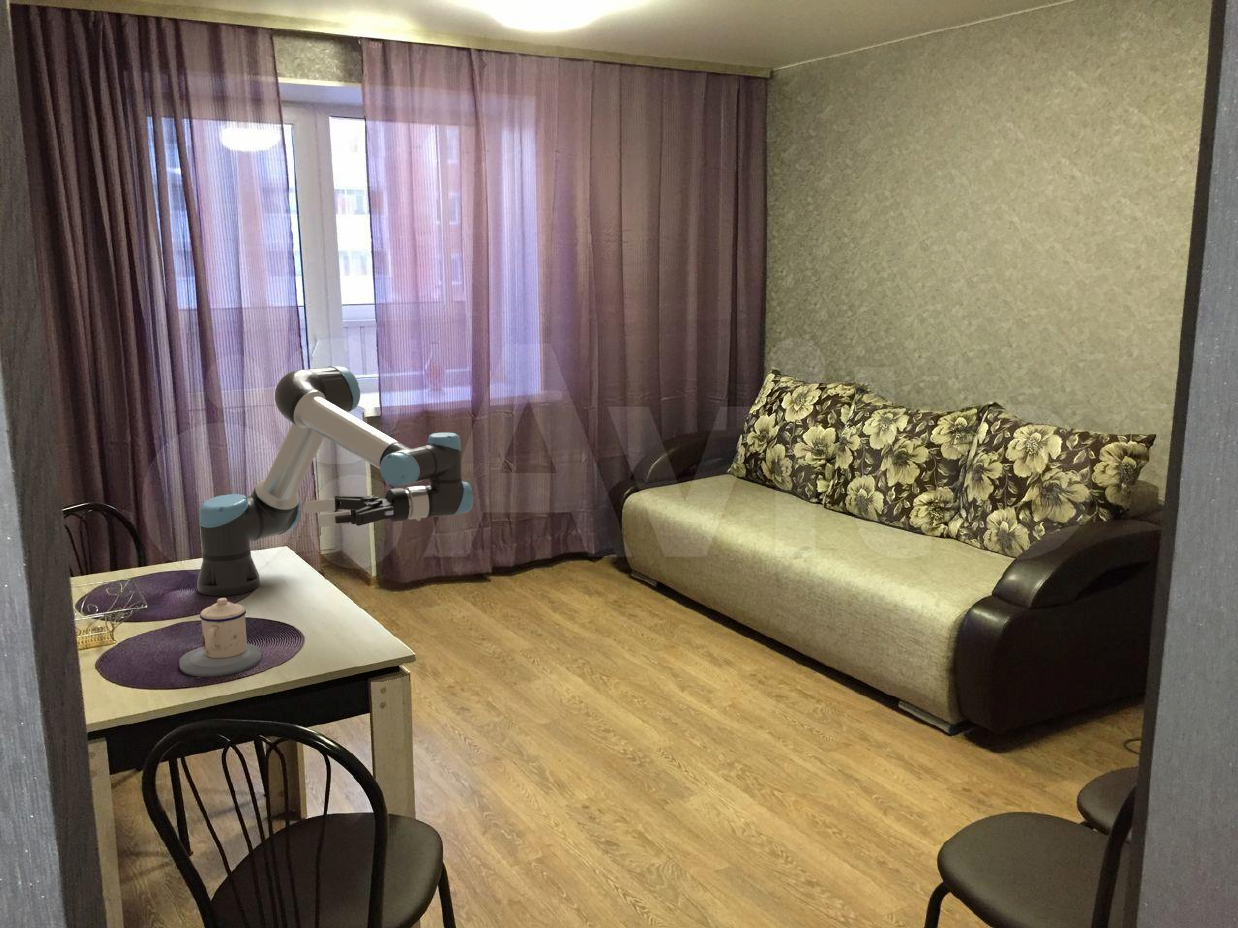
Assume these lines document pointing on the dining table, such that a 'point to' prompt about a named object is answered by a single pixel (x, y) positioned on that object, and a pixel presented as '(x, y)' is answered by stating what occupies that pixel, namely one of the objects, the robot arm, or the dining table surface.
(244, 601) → the dining table surface
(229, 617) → the teacup with lid
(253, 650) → the dish
